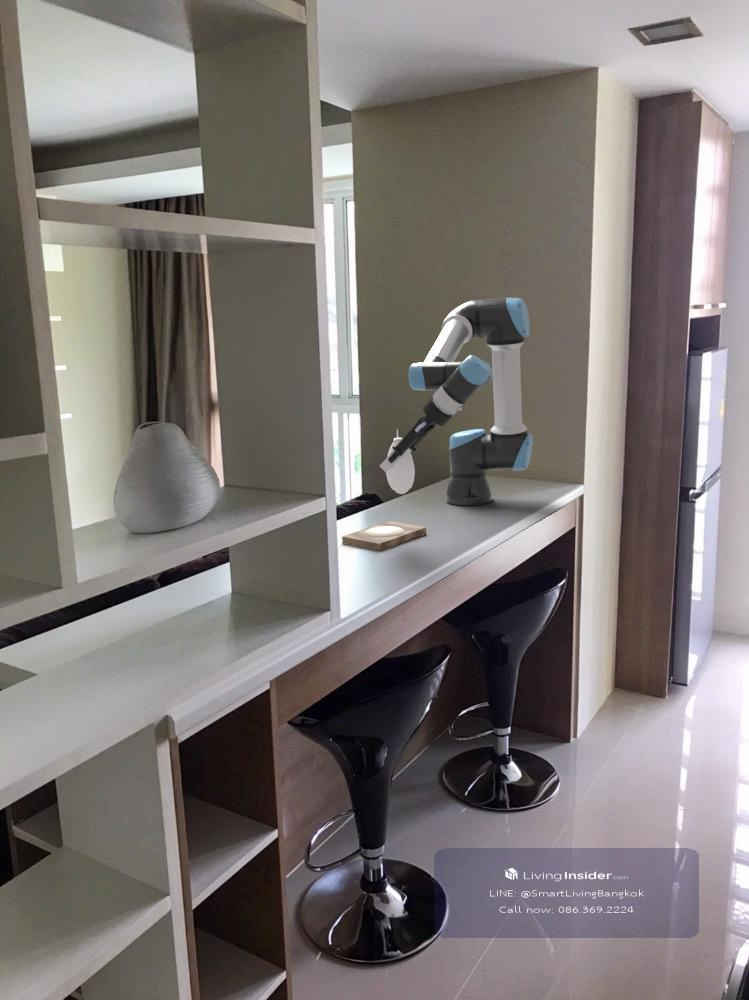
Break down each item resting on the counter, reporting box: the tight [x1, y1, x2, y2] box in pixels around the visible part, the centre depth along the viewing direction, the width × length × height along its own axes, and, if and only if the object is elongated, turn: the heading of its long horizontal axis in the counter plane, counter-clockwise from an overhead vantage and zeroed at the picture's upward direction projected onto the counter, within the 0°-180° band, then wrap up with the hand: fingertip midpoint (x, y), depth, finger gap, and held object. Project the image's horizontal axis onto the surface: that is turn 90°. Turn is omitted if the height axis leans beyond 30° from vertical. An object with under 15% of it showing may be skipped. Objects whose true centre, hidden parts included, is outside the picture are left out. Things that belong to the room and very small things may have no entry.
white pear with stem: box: [385, 428, 416, 495], centre depth 226 cm, size 8×8×18 cm
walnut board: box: [341, 520, 427, 552], centre depth 235 cm, size 20×14×2 cm
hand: (388, 466), depth 228 cm, fingers closed on white pear with stem, 7 cm apart
